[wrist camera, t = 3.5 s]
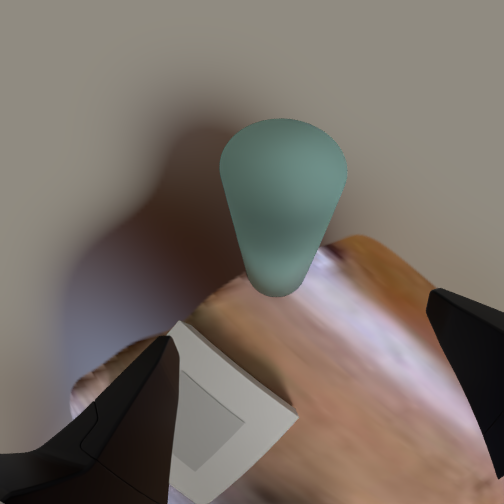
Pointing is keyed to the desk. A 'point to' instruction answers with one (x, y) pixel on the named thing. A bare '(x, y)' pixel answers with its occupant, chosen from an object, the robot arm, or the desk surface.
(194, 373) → the plinth
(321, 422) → the desk surface
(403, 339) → the desk surface
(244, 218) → the pillar
